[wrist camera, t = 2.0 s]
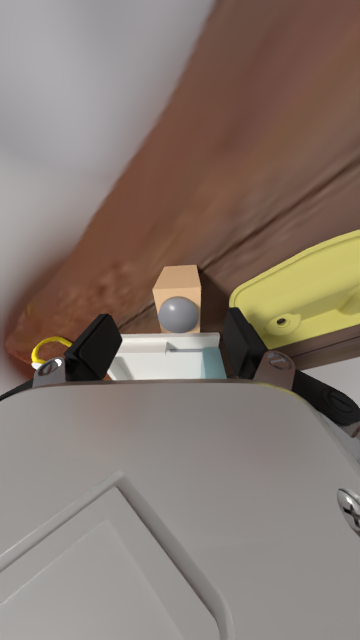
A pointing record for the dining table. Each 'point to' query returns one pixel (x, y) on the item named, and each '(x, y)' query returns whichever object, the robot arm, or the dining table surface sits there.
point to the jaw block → (178, 299)
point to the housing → (161, 356)
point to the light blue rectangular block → (212, 364)
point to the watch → (35, 358)
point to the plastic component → (305, 293)
